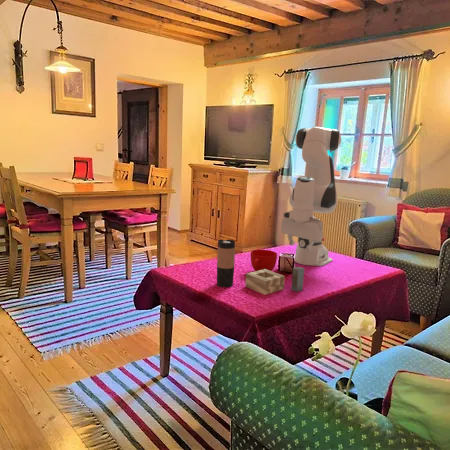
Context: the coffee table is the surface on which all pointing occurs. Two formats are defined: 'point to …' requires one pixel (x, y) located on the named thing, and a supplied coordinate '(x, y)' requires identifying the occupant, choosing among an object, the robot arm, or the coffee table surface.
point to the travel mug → (225, 263)
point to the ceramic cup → (263, 259)
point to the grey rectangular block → (297, 279)
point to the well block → (265, 281)
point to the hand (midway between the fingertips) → (300, 247)
